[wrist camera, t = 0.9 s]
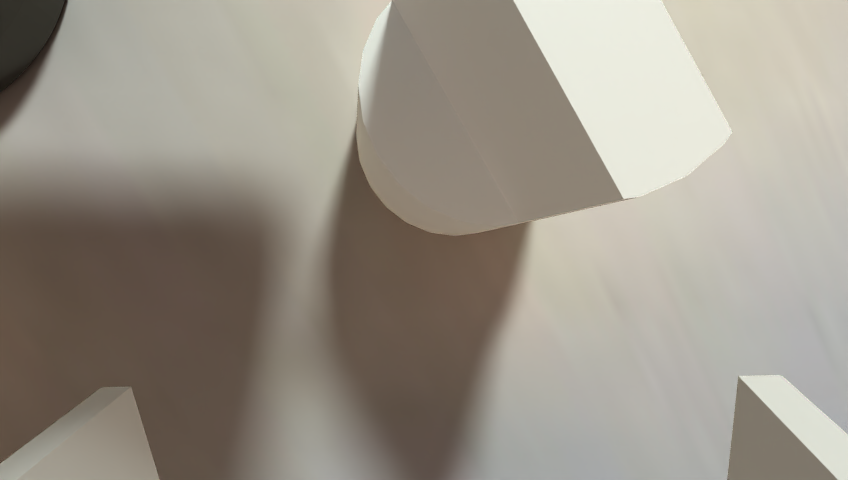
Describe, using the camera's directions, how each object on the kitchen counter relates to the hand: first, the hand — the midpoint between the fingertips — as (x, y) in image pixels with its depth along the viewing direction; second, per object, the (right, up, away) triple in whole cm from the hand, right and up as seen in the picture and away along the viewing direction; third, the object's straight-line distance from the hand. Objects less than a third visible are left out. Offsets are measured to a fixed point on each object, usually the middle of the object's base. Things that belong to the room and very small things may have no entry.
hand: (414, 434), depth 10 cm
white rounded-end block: (+2, +9, +11) cm, 15 cm away
